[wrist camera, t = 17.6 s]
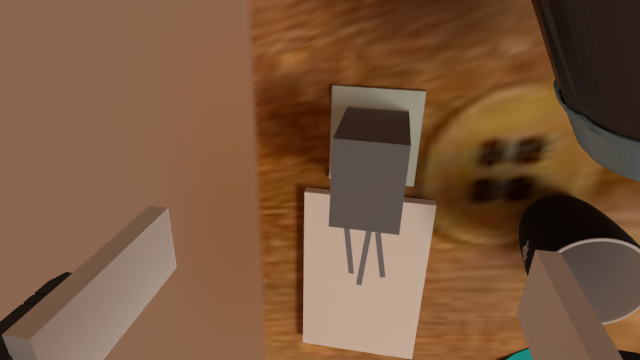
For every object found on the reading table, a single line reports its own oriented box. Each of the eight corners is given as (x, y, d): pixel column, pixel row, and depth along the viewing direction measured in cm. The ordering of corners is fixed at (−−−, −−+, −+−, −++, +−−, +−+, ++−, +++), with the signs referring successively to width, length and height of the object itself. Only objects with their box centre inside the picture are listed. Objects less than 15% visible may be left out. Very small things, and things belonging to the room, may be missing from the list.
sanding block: (347, 105, 42) (332, 138, 33) (409, 110, 41) (411, 145, 32) (343, 178, 45) (328, 226, 36) (399, 184, 44) (399, 235, 35)
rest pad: (332, 84, 42) (332, 85, 41) (425, 90, 40) (426, 91, 40) (329, 176, 46) (328, 178, 46) (413, 184, 45) (413, 186, 44)
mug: (495, 200, 44) (520, 257, 35) (590, 170, 41) (643, 223, 32) (530, 289, 47) (560, 361, 38) (619, 266, 44) (675, 339, 35)
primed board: (306, 187, 47) (304, 192, 46) (435, 200, 45) (436, 205, 44) (304, 335, 56) (302, 342, 55) (411, 351, 54) (411, 359, 53)
